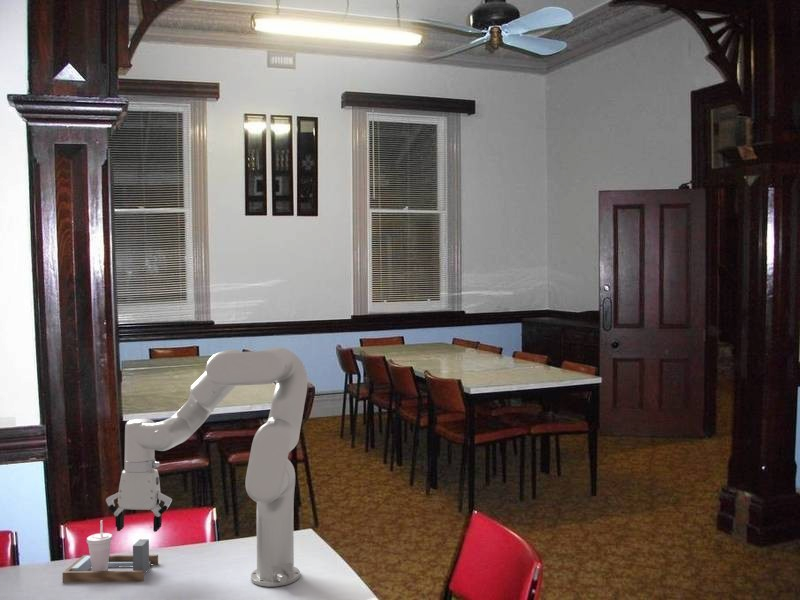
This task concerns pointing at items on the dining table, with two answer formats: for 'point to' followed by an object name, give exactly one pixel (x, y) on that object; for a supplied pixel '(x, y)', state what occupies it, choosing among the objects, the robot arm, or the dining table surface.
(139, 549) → the sled
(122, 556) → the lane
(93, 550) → the smoothie
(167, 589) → the dining table surface
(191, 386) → the robot arm
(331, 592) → the dining table surface
